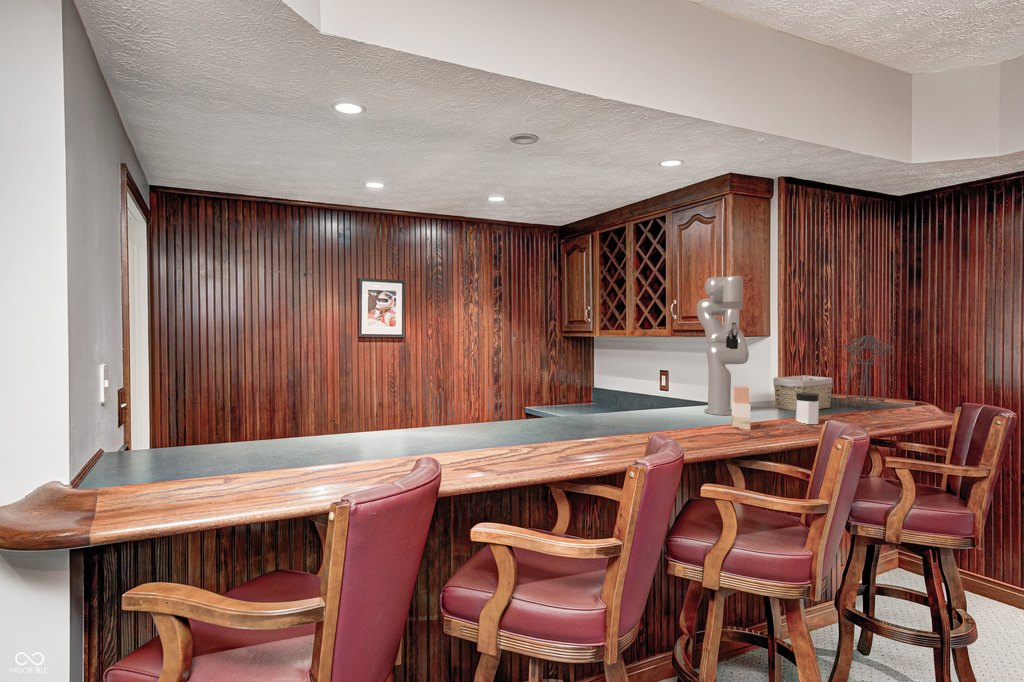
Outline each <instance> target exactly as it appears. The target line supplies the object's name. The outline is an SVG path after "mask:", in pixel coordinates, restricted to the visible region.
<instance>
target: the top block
mask: <svg viewBox="0 0 1024 682" xmlns="http://www.w3.org/2000/svg"><path fill="white" fill-rule="evenodd" d="M732 396H733V398H732V399H733V400H732V402H734V403H735V404H749V403H750V388H749V387H748V386H736V385H735V386H733V394H732Z"/></svg>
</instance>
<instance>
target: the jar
mask: <svg viewBox="0 0 1024 682" xmlns="http://www.w3.org/2000/svg"><path fill="white" fill-rule="evenodd" d="M818 400H819V395H818V394H815V393H796V410H795V420H796V421H798V422H801V423H806V424H818V425H819V411H820V409H819V401H818ZM796 421H795V422H796Z"/></svg>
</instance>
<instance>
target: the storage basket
mask: <svg viewBox="0 0 1024 682" xmlns="http://www.w3.org/2000/svg"><path fill="white" fill-rule="evenodd" d="M833 381H834V379H833V377H825V376H817V375H816V376H815V375H793V376H777V377H776V376H775V377H773V381H772V383H773V388H774V399H775V400H774V401H775V407H776V408H777V409H784V410H789V411H796V393H815V394H818V395H819V400H818V401H819V410H822V409H828V408H831V402H832V401H831V398H832V388H833V383H834V382H833Z"/></svg>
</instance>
